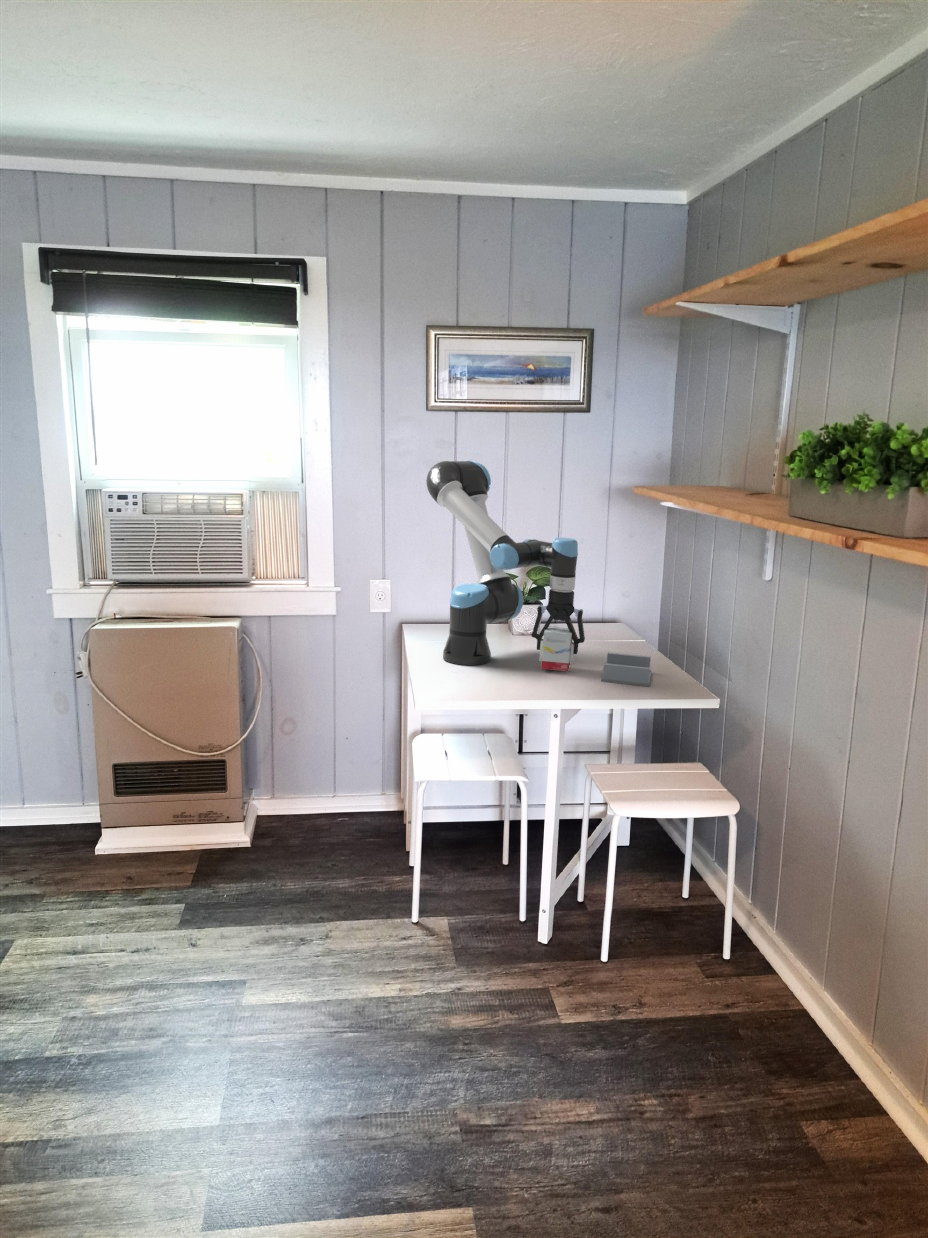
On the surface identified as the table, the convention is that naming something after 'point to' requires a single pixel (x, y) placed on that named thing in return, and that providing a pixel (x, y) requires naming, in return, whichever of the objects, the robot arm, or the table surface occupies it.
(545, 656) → the ink box
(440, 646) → the table surface
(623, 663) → the channel holder
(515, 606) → the robot arm
